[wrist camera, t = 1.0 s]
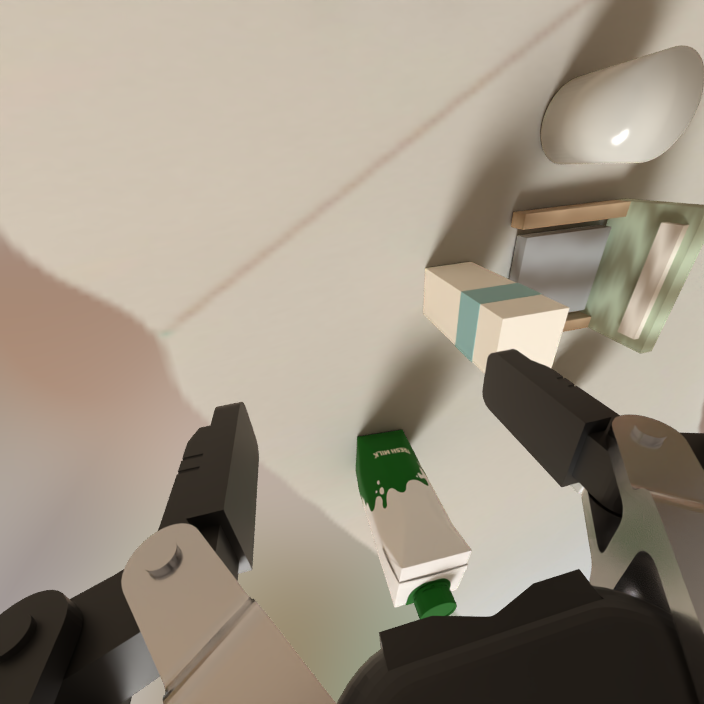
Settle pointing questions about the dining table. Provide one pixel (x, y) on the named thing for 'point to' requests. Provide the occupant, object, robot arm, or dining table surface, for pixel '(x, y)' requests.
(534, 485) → the dining table surface
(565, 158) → the white tapered tumbler
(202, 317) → the dining table surface
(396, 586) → the milk carton
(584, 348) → the dining table surface
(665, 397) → the dining table surface
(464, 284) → the oat carton
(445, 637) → the robot arm
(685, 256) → the display bay
